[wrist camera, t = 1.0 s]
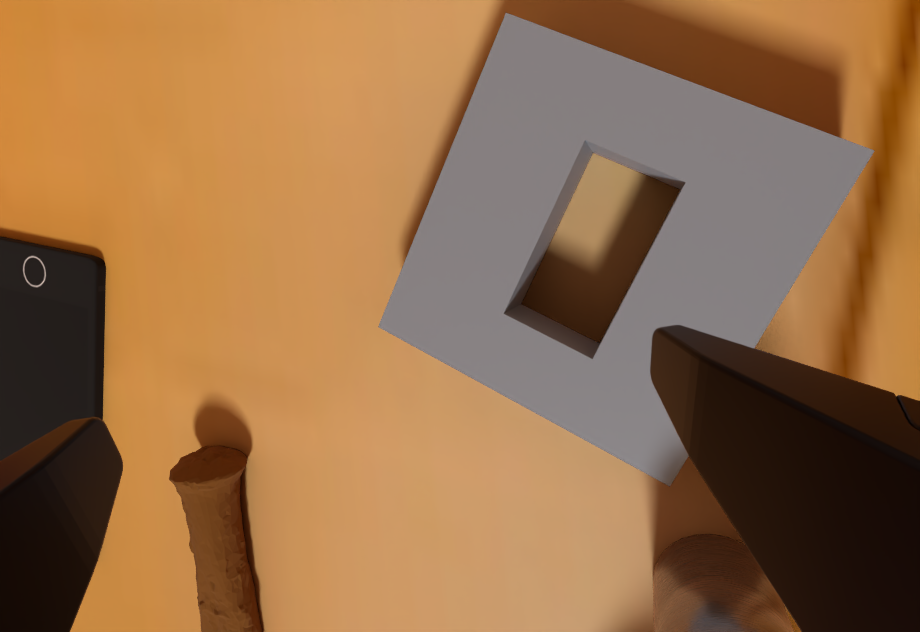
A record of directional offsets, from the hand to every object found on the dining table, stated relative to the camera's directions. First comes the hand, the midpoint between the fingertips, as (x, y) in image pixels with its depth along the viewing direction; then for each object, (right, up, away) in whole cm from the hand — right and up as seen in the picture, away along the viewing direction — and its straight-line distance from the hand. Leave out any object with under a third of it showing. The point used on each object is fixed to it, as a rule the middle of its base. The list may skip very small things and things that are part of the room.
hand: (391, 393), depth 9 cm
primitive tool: (-10, -15, +22) cm, 28 cm away
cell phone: (-23, -3, +24) cm, 33 cm away
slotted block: (+6, +4, +13) cm, 15 cm away
